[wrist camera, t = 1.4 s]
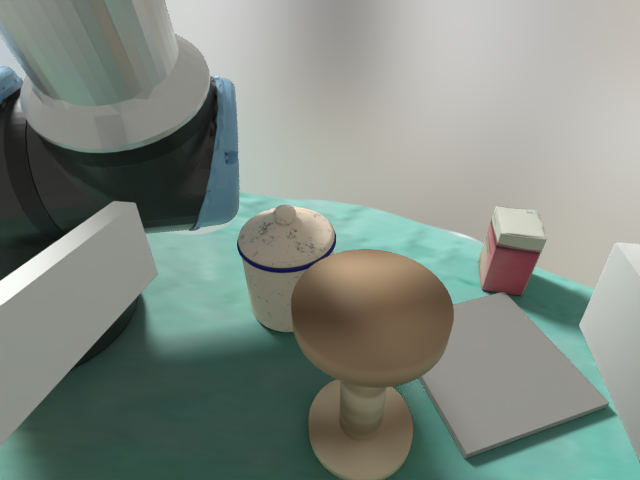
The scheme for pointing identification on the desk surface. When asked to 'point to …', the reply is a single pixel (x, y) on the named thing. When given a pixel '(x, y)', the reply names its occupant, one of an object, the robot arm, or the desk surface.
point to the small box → (511, 250)
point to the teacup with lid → (281, 258)
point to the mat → (503, 378)
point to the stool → (368, 354)
